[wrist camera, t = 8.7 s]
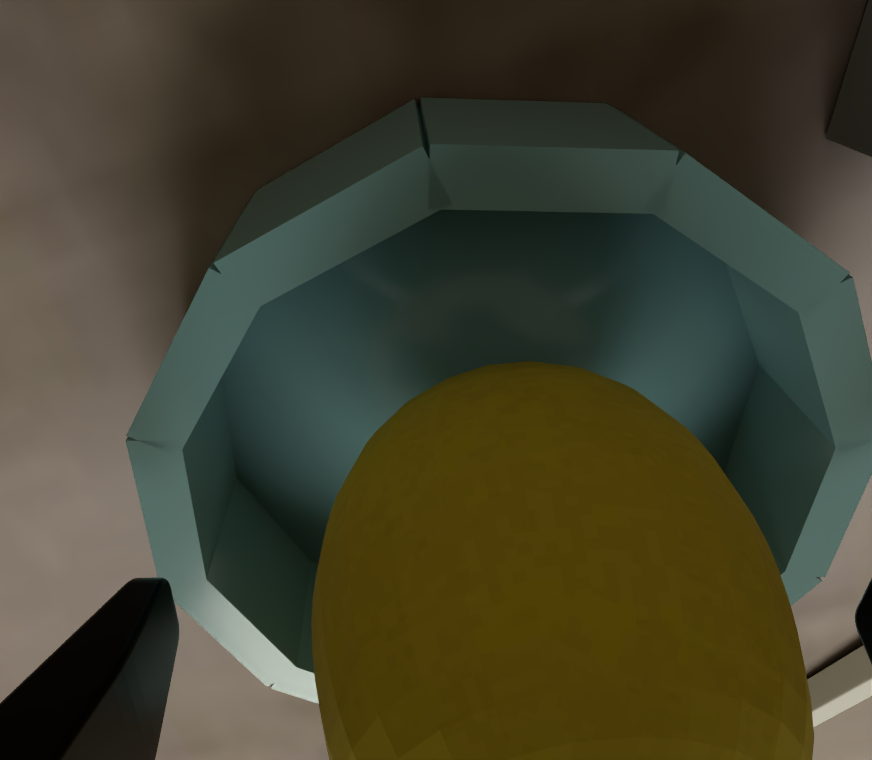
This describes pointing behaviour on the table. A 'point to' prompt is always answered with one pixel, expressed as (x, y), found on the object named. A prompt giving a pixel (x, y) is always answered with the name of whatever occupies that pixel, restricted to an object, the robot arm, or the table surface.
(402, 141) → the bowl
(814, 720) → the fork
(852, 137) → the parts tray
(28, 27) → the table surface
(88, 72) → the table surface
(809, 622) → the table surface
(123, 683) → the robot arm
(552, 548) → the lemon
